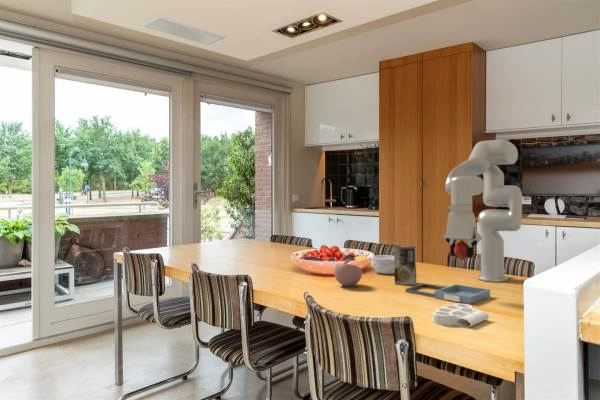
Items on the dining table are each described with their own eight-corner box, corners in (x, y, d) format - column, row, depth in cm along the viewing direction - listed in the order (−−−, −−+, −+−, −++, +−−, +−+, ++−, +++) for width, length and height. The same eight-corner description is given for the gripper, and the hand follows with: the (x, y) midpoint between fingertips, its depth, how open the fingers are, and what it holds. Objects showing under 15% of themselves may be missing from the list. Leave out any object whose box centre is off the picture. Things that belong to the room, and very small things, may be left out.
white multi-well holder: (465, 332, 129) (421, 321, 140) (493, 319, 140) (451, 310, 151) (465, 321, 129) (421, 311, 140) (493, 309, 140) (451, 301, 151)
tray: (455, 291, 178) (455, 284, 178) (489, 296, 168) (489, 289, 167) (434, 298, 167) (434, 291, 167) (469, 305, 156) (469, 297, 156)
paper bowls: (406, 271, 222) (406, 255, 222) (396, 276, 209) (395, 260, 209) (378, 268, 230) (378, 253, 230) (366, 273, 217) (366, 257, 217)
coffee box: (416, 282, 196) (416, 246, 195) (415, 285, 189) (415, 248, 189) (395, 281, 199) (395, 245, 198) (394, 284, 192) (393, 247, 192)
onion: (451, 259, 170) (451, 238, 169) (465, 258, 170) (465, 238, 170) (458, 261, 164) (457, 240, 163) (472, 261, 164) (472, 240, 164)
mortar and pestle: (365, 284, 194) (365, 258, 193) (357, 290, 183) (357, 262, 183) (340, 282, 199) (339, 257, 198) (330, 287, 188) (330, 261, 188)
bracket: (423, 286, 187) (423, 283, 187) (451, 291, 178) (451, 288, 178) (405, 291, 178) (405, 289, 178) (434, 297, 168) (433, 294, 168)
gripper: (435, 209, 170) (436, 255, 171) (479, 210, 158) (479, 260, 158) (445, 208, 175) (446, 253, 176) (488, 209, 163) (488, 257, 163)
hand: (461, 256), depth 167 cm, fingers closed on onion, 5 cm apart
